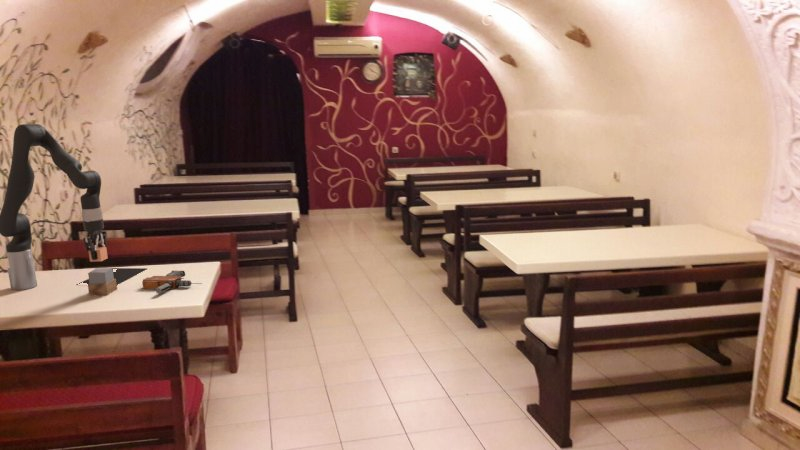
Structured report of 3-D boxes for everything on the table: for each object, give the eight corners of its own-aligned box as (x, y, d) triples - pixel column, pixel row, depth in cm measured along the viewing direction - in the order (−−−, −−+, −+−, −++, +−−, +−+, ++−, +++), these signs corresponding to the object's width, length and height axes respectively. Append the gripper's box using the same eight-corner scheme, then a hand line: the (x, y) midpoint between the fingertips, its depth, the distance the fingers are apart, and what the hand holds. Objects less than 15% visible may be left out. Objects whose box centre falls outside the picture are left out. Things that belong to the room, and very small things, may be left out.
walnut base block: (89, 296, 249) (87, 284, 248) (99, 290, 257) (97, 279, 256) (107, 295, 249) (106, 284, 248) (117, 289, 256) (115, 278, 255)
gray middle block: (89, 284, 248) (88, 273, 247) (97, 279, 255) (96, 268, 254) (106, 283, 248) (104, 272, 247) (113, 278, 255) (112, 267, 254)
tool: (165, 269, 275) (127, 286, 246) (219, 269, 271) (187, 286, 242) (166, 277, 276) (128, 295, 246) (220, 278, 272) (188, 296, 242)
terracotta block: (89, 261, 248) (88, 250, 246) (96, 258, 252) (94, 247, 251) (101, 261, 247) (99, 249, 246) (107, 258, 252) (106, 246, 251)
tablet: (110, 268, 290) (148, 268, 287) (110, 269, 290) (148, 269, 288) (74, 285, 264) (115, 285, 261) (74, 286, 264) (116, 287, 261)
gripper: (93, 215, 253) (99, 253, 257) (74, 222, 239) (80, 262, 243) (110, 215, 253) (115, 253, 256) (91, 221, 239) (97, 262, 242)
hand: (98, 257), depth 250 cm, fingers closed on terracotta block, 5 cm apart
